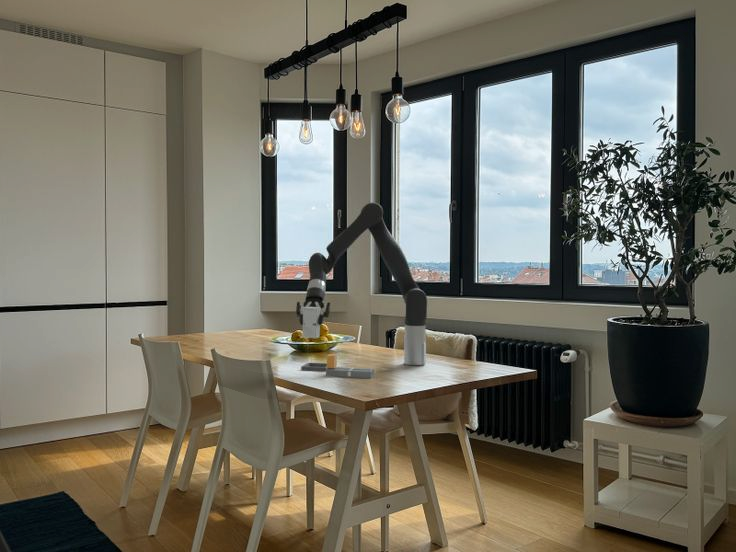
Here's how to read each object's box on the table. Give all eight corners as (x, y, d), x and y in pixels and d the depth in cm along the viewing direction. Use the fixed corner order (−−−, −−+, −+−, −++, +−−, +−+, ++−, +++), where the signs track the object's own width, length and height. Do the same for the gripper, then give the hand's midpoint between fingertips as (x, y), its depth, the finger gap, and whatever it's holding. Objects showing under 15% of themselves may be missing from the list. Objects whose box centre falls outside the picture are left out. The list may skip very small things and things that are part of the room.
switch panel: (374, 375, 258) (374, 368, 258) (370, 378, 251) (370, 371, 251) (330, 372, 262) (330, 366, 262) (325, 376, 255) (325, 369, 255)
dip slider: (336, 366, 260) (336, 354, 260) (334, 368, 256) (334, 355, 256) (329, 366, 260) (329, 353, 260) (326, 368, 256) (326, 355, 256)
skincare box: (301, 337, 259) (302, 307, 258) (306, 336, 263) (306, 306, 262) (316, 338, 257) (316, 307, 256) (320, 337, 261) (320, 306, 260)
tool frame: (332, 367, 276) (332, 363, 276) (325, 371, 266) (325, 367, 265) (308, 365, 278) (308, 362, 278) (301, 370, 268) (301, 366, 268)
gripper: (297, 286, 267) (291, 317, 256) (332, 286, 266) (327, 318, 255) (299, 298, 273) (294, 329, 261) (333, 298, 271) (329, 330, 260)
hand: (310, 323), depth 258 cm, fingers closed on skincare box, 6 cm apart
